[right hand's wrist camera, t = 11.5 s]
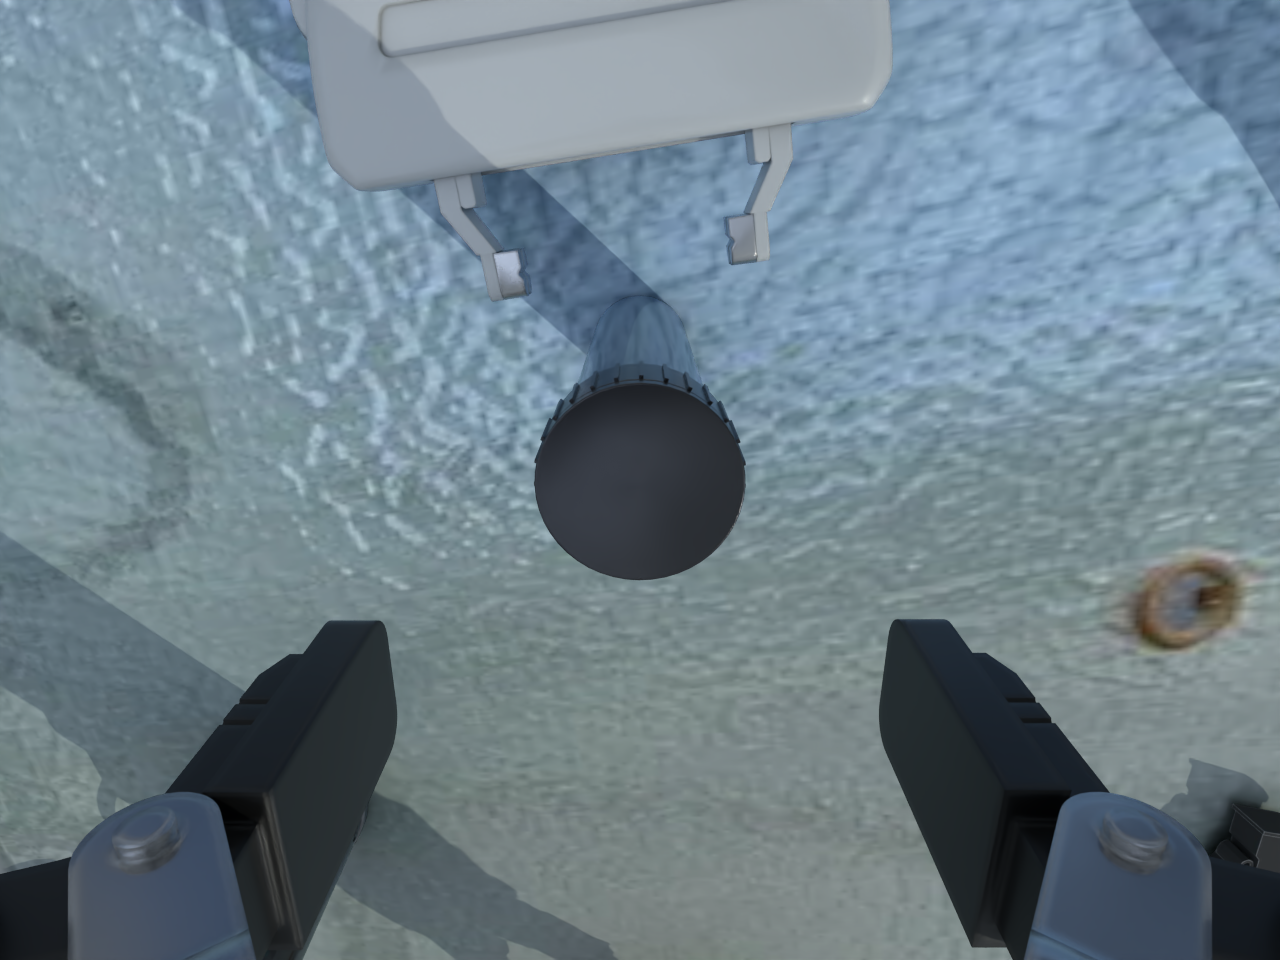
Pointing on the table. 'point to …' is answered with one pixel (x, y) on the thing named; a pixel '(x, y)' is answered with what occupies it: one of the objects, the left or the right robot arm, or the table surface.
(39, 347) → the table surface
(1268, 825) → the handgun
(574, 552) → the lid
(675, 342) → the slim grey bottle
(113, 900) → the right robot arm
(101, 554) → the table surface
